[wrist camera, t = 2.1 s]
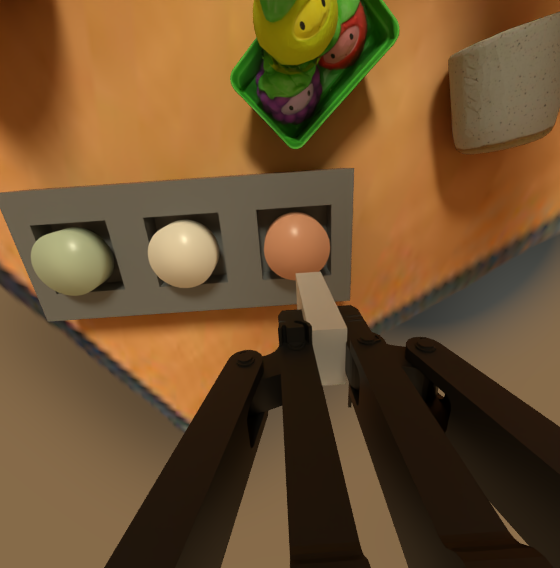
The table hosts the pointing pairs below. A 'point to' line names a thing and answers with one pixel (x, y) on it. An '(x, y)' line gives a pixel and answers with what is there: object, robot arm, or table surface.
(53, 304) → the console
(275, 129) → the fruit basket
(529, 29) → the ceramic mug
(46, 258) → the sage button
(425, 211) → the table surface
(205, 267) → the cream button
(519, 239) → the table surface
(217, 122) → the table surface
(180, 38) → the table surface
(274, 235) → the terracotta button
